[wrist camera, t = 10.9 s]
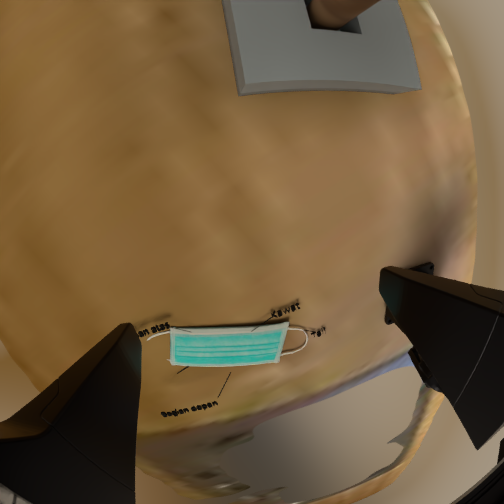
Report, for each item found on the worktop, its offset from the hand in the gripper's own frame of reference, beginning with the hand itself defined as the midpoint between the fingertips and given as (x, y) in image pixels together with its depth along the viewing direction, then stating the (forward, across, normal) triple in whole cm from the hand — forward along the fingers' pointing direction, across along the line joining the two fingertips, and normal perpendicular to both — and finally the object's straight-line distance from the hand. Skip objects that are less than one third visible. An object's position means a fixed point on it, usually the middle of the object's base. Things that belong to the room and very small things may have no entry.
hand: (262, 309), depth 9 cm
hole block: (+13, -9, -15) cm, 22 cm away
